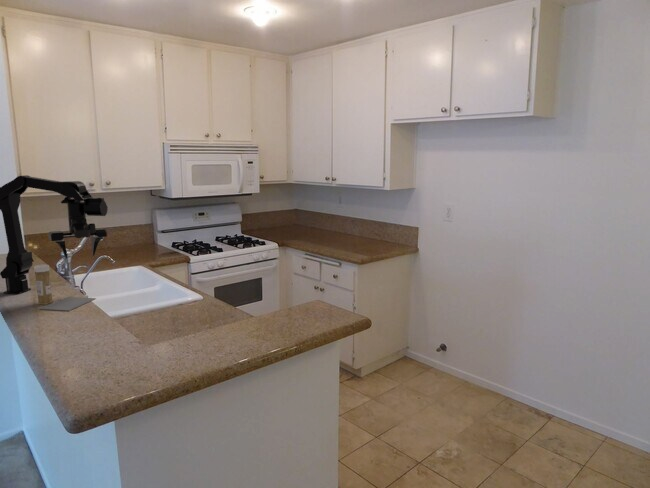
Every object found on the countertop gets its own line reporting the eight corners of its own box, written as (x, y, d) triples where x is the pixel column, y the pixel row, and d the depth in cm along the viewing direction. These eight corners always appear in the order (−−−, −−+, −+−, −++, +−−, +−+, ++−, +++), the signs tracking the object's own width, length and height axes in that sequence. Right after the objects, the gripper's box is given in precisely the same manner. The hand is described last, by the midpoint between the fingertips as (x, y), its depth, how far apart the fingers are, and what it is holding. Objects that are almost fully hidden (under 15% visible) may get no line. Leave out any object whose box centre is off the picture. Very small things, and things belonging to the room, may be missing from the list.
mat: (39, 309, 156) (39, 308, 156) (68, 297, 169) (68, 296, 169) (69, 311, 154) (69, 310, 154) (95, 299, 168) (95, 298, 168)
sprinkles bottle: (54, 302, 163) (50, 265, 161) (39, 305, 160) (35, 267, 157) (51, 300, 166) (47, 263, 164) (36, 302, 163) (32, 265, 161)
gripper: (52, 219, 160) (56, 263, 163) (110, 216, 172) (112, 257, 174) (46, 216, 168) (50, 258, 171) (101, 213, 180) (104, 252, 183)
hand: (80, 256), depth 175 cm, fingers open, 9 cm apart
